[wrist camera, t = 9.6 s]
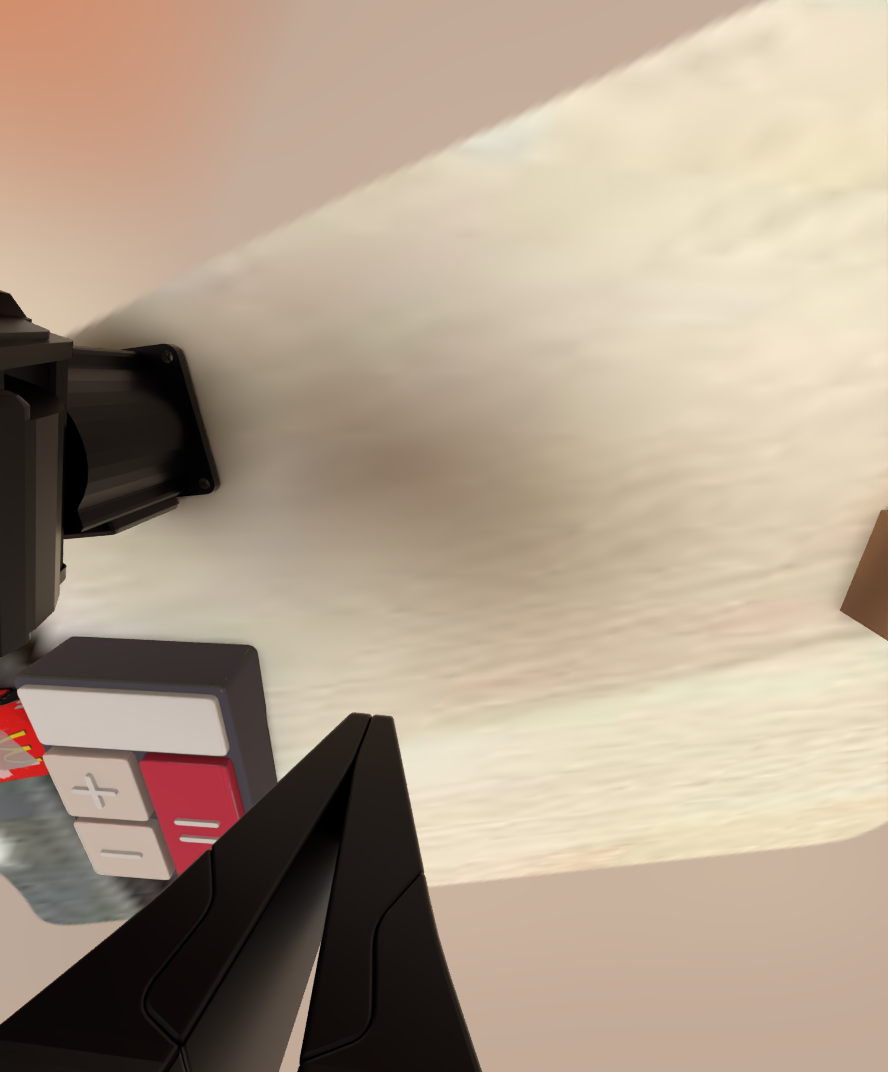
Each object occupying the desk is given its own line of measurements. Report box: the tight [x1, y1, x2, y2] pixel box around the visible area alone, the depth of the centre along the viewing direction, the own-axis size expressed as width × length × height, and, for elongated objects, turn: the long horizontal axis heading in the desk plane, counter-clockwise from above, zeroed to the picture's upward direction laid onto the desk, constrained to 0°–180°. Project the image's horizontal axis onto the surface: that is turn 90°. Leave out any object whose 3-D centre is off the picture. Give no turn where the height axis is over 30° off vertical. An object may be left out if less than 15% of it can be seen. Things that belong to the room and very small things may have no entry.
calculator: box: [14, 637, 277, 880], centre depth 25 cm, size 11×4×15 cm
